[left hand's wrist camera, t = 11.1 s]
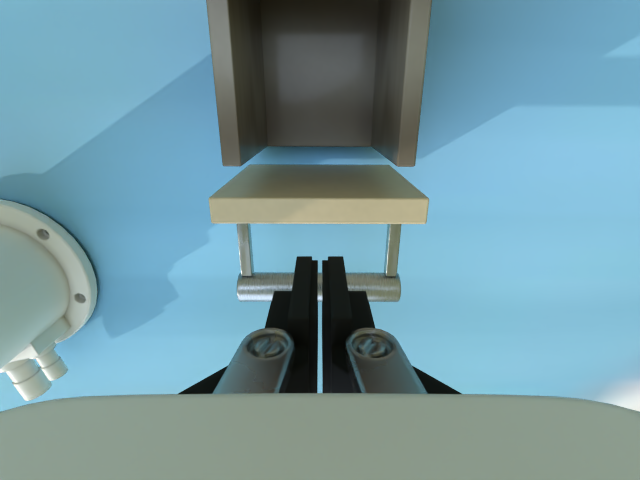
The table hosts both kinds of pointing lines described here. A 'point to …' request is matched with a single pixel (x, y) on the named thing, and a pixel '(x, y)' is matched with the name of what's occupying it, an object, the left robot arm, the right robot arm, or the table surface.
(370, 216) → the drawer
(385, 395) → the left robot arm
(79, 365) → the table surface
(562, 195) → the table surface
